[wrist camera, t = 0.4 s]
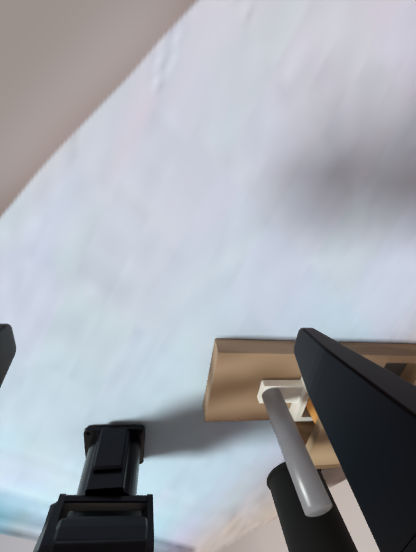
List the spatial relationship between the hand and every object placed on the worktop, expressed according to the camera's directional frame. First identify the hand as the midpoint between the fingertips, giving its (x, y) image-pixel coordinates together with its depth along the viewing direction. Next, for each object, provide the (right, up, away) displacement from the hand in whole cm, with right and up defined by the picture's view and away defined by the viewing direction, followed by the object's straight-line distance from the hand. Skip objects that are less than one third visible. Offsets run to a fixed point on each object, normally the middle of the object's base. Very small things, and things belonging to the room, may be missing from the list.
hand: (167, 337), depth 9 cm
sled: (+12, -10, +20) cm, 25 cm away
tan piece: (+14, -9, +22) cm, 28 cm away
